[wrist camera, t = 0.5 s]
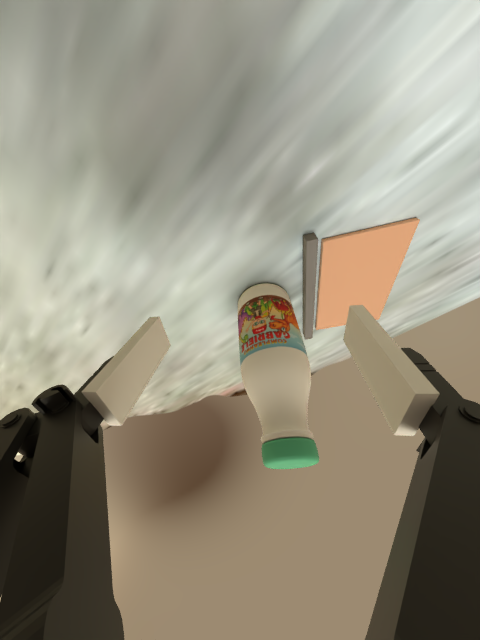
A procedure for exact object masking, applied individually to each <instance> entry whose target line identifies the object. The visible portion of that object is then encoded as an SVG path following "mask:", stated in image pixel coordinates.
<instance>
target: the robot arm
mask: <svg viewBox="0 0 480 640" xmlns="http://www.w3.org/2000/svg"><path fill="white" fill-rule="evenodd" d="M343 340H344V342H345V344H346V346H347V348H348V349H349V351H350V353H351V355H352V357H353V358H354V361H355V363H356V365H357V366H358V368H359V370H360V372H361V374H362V376H363V378H364V379H365V381H366V383H367V385H368V387H369V389H370V391H371V393H372V394H373V396H374V398H375V400H376V402H377V404H378V406H379V407H380V409H381V411H382V413H383V415H384V417H385V419H386V420H387V423H388V424H389V426H390V428H391V430H392V432H393V434H394V435H405V436H414V435H415V434H416V432H417V430H418V429H419V428H420V430H421V431H422V433H423V435H424V436H425V439H424V440H423V441H422V443H421V444H420V446H419V447H418V449H417V451H418V452H419V456H418V459H417V463H416V466H415V469H414V473H413V476H412V480H411V483H410V487H409V490H408V494H407V497H406V500H405V504H404V507H403V511H402V514H401V518H400V521H399V524H398V528H397V531H396V535H395V539H394V542H393V545H392V549H391V552H390V556H389V559H388V563H387V566H386V569H385V573H384V576H383V580H382V583H381V587H380V590H379V594H378V597H377V601H376V604H375V607H374V611H373V614H372V618H371V622H370V625H369V628H368V632H367V635H366V638H365V640H480V405H479V404H478V403H476V402H472V401H469V400H466V399H463V398H462V397H461V396H460V395H459V394H458V392H457V391H456V390H455V389H454V388H453V387H452V386H451V385H450V384H449V383H448V382H447V381H446V380H445V379H444V378H443V377H442V376H441V375H440V374H439V373H438V372H436V370H435V369H434V368H433V367H432V365H429V362H428V361H427V360H426V359H424V357H423V356H422V355H421V354H419V353H417V352H416V351H414V350H413V349H411V348H400V347H399V346H398V345H397V344H396V343H395V342H394V340H393V339H392V338H391V337H390V336H389V335H388V333H387V332H386V331H385V330H384V329H383V328H382V327H381V325H380V324H379V323H378V322H377V321H376V320H375V319H374V317H373V316H372V315H371V314H370V313H369V312H368V310H367V309H366V308H365V307H364V306H363V305H351V306H349V312H348V317H347V323H346V328H345V333H344V339H343ZM170 346H171V345H170V342H169V340H168V337H167V335H166V332H165V330H164V327H163V325H162V322H161V320H160V317H150V318H149V319H148V320H147V321H146V322H145V323H144V324H143V325H142V326H141V327H140V329H139V330H138V331H137V332H136V333H135V334H134V335H133V336H132V337H131V338H130V339H129V341H128V342H127V343H126V344H125V345H124V346H123V347H122V348H121V349H120V350H119V351H118V353H117V354H116V355H115V356H113V357H111V358H110V359H108V360H107V361H106V362H104V363H103V364H102V366H101V367H100V368H99V369H98V370H97V371H96V372H95V373H94V374H93V376H91V377H90V378H89V379H88V380H87V381H86V383H85V384H84V385H83V386H82V387H81V388H80V389H79V390H78V391H77V392H76V393H75V394H74V395H73V393H72V392H71V391H70V390H69V389H68V388H67V387H66V386H65V385H57V386H54V387H51V388H49V389H47V390H45V391H44V392H42V393H41V394H40V395H38V396H37V397H36V398H35V399H34V401H33V403H32V405H33V406H34V407H35V408H36V409H37V410H38V411H39V412H38V413H35V414H34V413H33V412H32V411H31V410H30V409H28V408H22V409H18V410H16V411H14V412H11V413H10V414H8V415H6V416H5V417H4V418H3V419H1V420H0V597H1V595H2V597H1V601H0V640H124V631H123V624H122V618H121V614H120V610H119V608H118V606H117V604H116V602H115V600H114V596H113V588H112V571H111V557H110V541H109V526H108V525H109V524H108V509H107V493H106V478H105V463H104V447H103V431H102V427H101V426H100V423H101V422H102V421H103V419H104V420H105V421H106V422H107V424H108V425H111V426H122V425H123V423H124V421H125V420H126V418H127V417H128V415H129V413H130V412H131V410H132V408H133V407H134V405H135V403H136V402H137V400H138V399H139V397H140V395H141V394H142V392H143V390H144V389H145V387H146V385H147V384H148V382H149V381H150V379H151V377H152V376H153V374H154V372H155V371H156V369H157V367H158V366H159V364H160V362H161V361H162V359H163V358H164V356H165V354H166V353H167V351H168V349H169V348H170ZM18 452H19V453H20V454H22V455H23V458H22V459H21V461H20V462H18V461H16V460H15V459H14V458H15V456H16V454H17V453H18Z"/></svg>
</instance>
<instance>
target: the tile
mask: <svg viewBox="0 0 480 640" xmlns="http://www.w3.org/2000/svg"><path fill="white" fill-rule="evenodd" d="M419 221H420V220H419V219H418V218H413V219H408V220H404V221H400V222H395V223H391V224H386V225H382V226H378V227H373V228H369V229H365V230H360V231H356V232H352V233H347V234H343V235H339V236H334V237H330V238H326V239H322V241H321V255H320V269H319V283H318V297H317V311H316V325H315V328H316V330H318V329H324V328H330V327H336V326H342V325H346V323H347V317H348V312H349V306H351V305H363V306H364V307H365V308H366V309H367V310H368V312H369V313H370V314H371V315H372V316H373V317H374V319H375V320H377V319H379V318H380V315H381V313H382V310H383V308H384V306H385V303H386V301H387V298H388V296H389V293H390V291H391V289H392V286H393V284H394V281H395V279H396V276H397V274H398V272H399V269H400V267H401V264H402V262H403V260H404V257H405V255H406V252H407V250H408V247H409V245H410V243H411V240H412V238H413V235H414V233H415V230H416V228H417V226H418V223H419Z"/></svg>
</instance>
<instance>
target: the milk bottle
mask: <svg viewBox="0 0 480 640" xmlns="http://www.w3.org/2000/svg"><path fill="white" fill-rule="evenodd" d="M238 329H239V349H240V364H241V374H242V379H243V383H244V387H245V389H246V392H247V394H248V396H249V398H250V400H251V401H252V403H253V405H254V407H255V409H256V411H257V414H258V416H259V419H260V422H261V425H262V430H263V436H262V437H261V441H262V457H263V463H264V465H265V466H266V467H268V468H272V469H291V468H302V467H307V466H312V465H315V464H317V463H318V462H319V456H318V451H317V448H316V444H315V442H314V440H313V433H312V432H310V431H309V428H308V423H307V405H308V398H309V392H310V386H311V371H310V365H309V361H308V357H307V353H306V349H305V346H304V343H303V339H302V336H301V333H300V329H299V326H298V323H297V320H296V317H295V314H294V310H293V307H292V304H291V301H290V298H289V296H288V294H287V292H286V291H285V290H284V289H282V288H281V287H279V286H277V285H274V284H269V283H264V284H257V285H255V286H252V287H250V288H249V289H247V290H246V291H245V292H244V293H243V294H242V295H241V297H240V299H239V301H238Z"/></svg>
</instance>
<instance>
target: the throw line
mask: <svg viewBox="0 0 480 640" xmlns="http://www.w3.org/2000/svg"><path fill="white" fill-rule="evenodd" d="M317 249H318V238H317V236H316V235H315V234H314V233H311V234H307V235H303V334H304V337H305V339H311V338H312V335H313V318H314V300H315V283H316V266H317Z"/></svg>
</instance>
